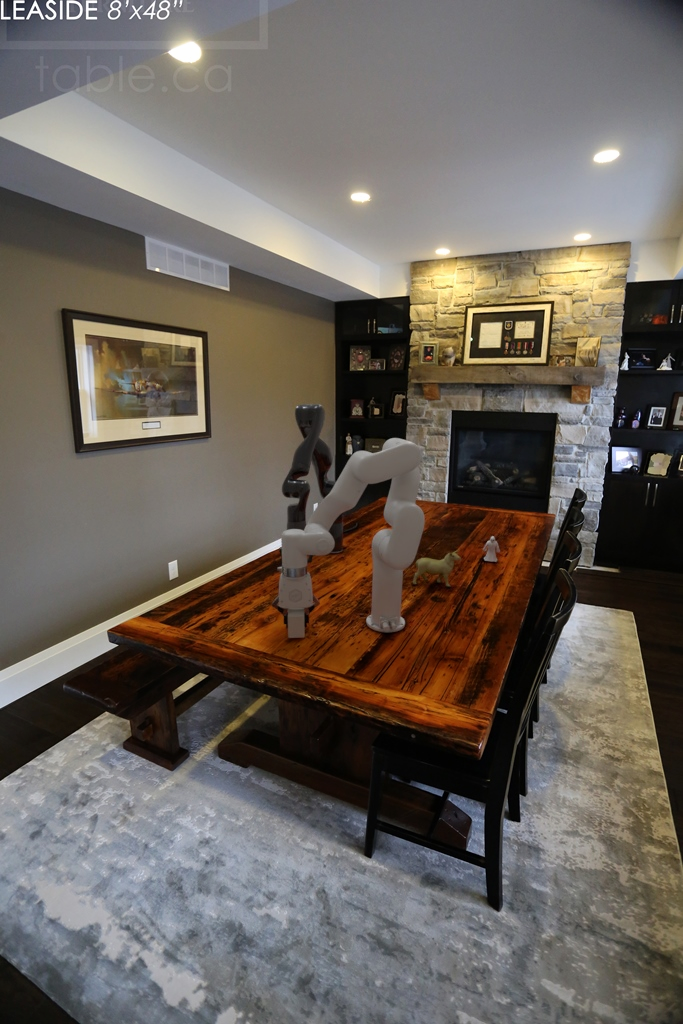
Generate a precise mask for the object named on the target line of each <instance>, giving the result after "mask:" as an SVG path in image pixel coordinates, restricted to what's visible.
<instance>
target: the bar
mask: <svg viewBox="0 0 683 1024" xmlns="http://www.w3.org/2000/svg"><path fill="white" fill-rule="evenodd" d="M304 612H305V610H304V608H290V609H288V628H287V638H288V639H298V638H299V639H300V638H301V639H302V638H306V637H305V635H306V634H305V632H306V631H305V628H306V627H305V626H304Z"/></svg>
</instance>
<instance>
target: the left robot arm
mask: <svg viewBox="0 0 683 1024" xmlns="http://www.w3.org/2000/svg"><path fill="white" fill-rule="evenodd" d="M294 418H295V422H296V426H297V428H298V430H299V432H300V434H301V437H302V438H303V440H302V441H301V442H300V444H299V445H298V446H297V448H296V449H295V451H294V453H293V457H292V461H291V465H290V469H289V471H288V473H287V475H286V477H285V478H284V480H283V482H282V485H281V493H282V495H283V497H284V498H288V499H298V502H296V503H295V502H294V503H290V504H289V505H287V507H286V530H289V529H300V530H303V531H304V529H305V526H306V524H307V518H306V517H307V515H306V513H307V512H306V511H307V504H308V499H309V497H310V493H311V486H310V485H311V484H310V483H309V482H308V480H305V479H299V478H304V477H307V476H308V475H309V474H310V469H311V465H312V468H313V470H314V471H313V472H314V473H315V477H316V481H317V487H318V490H319V491H318V492H319V494H320V497H321V498H322V500H324V498H325V497H326V496H327V495H328V494H329V493H330V492H331V490H332V489H333V487H334V485H335V483H336V482H337V480H332V479H331V480H330V479H329V478H328V473H329V471H330V469H331V467H332V465H333V462H334V461H333V454H332V452H331V448H330V446H329V444H328V443H327V442H326V441H325V440H324V439H323V438H322V437H321V433H322V430H323V427H324V424H325V420H326V411H325V408H324V406H323V405H322V404H319V403H301V404H298V405H297V406H296V407H295V409H294ZM344 513H345V512H343V513H342V514H340V515H339V516H338V517H337V518H336V520H335V521H334V523H333V524H332V526H331V528H330V529H329V531H328V532H329V533H330V534H331V535H332V537H333V539H334V543H335V545H334V548H333V550H332V551H331V552H330V553H329V554H341V553H342V552H343V551H344V533H348V532H350V531H352V530H354V529H356V528H357V527H358V522H356V523H355V525H354V526H353V527H350V528H349V529H344ZM278 550H279V554H280V555H279V556H280V559H282V546H280V547H279V549H278ZM313 559H314V555H308V558H307V565H308V564H310V563H312V562H313Z"/></svg>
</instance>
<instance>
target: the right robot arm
mask: <svg viewBox="0 0 683 1024" xmlns="http://www.w3.org/2000/svg"><path fill="white" fill-rule="evenodd" d="M422 460H423V453H422V449H421V448H420V446H419V445H417V444H416V443H414V442H413V441H410V440H407V439H403V438H399V437H392V438H389V439H387V440H386V441H384V443H383V445H382V449H381V450H380V451H377V452H373V453H372V452H370V451H367V450H357V451H355V452H354V453H352V455H351V456H349V459H348V460H347V462H346V464H345V466H344V467H343V469H342V471H341V473H340V474H339V477H338V478H337V480H336V481H337V482H336V483H335V485H334V487H333V489H332V490H331V492H330V493H329V494H328V495H327V496H326V497H325V498H324V499H322V501H321V502H320V503H319V504H318V505H317V506H316V508H314V510H313V512H312V514H311V515H310V517H309V519H308V521H307V522H306V526H305V529H304V531H303V530H300V529H289V530H287V529H286V530H284V531H283V532H282V533H281V535H280V536H281V537H280V539H281V547H282V558H281V566H277V572H278V573H280V575H279V579H278V595H277V596H276V597H275V599H273V601H272V602H271V607H272V608H274V609H275V610H277V611H278V612H279V613H280V614H281V615H282V616H283V625H285V629H288V609H290V608H304V626H305V628H308V624H310V614H311V613H312V612H313V611H314V610H315V609H316V608H318V607H319V606H320V605H321V601H320V599H318V598H317V596H316V595H315V594H314V593H313V583H312V577H311V574H310V572H308V571H309V570H308V564H307V559H308V556H309V555H313V556H318V557H320V556H328V555H329V554H331V553H330V552H331V551H332V550H333V548H334V545H335V543H334V539H333V537H332V535H331V534H330V533H329V532H328V531H329V529H330V528H331V526H332V524H333V523H334V521H335V520H336V518H337V517H338V516H339V515H340V514H342V513H343V512H344V513H345V512H347V511H351V509H353V508H355V507H356V505H357V504H358V502H359V501H360V499H361V497H362V495H363V494H364V492H365V490H366V488H367V487H368V485H374V484H379V483H382V482H385V481H388V480H391V483H390V488H389V491H388V495H387V498H386V502H385V506H384V509H383V518H384V520H385V522H386V523H387V524H388V525H389V526H390V527H391V528H383V529H381V530H379V531H377V532H376V533H375V534H374V536H373V538H372V541H371V558H372V585H371V586H372V587H371V607H370V609H371V613H370V615H368V616H367V617H366V621H365V622H366V623H365V624H366V625H367V627H368V628H369V629H372V630H373V631H376V632H379V633H396V632H398V631H402V630H403V629H404V628H405V626H406V620H405V618H403V617H402V615H401V614H402V599H403V598H402V597H403V580H404V570H406V569H407V568H409V567H410V566H411V565H412V564H413V563H414V561H415V559H416V556H417V554H418V549H419V546H420V543H421V539H422V536H423V532H424V528H425V523H426V519H425V517H426V516H425V513H424V511H423V510H422V508H421V507H420V506H419V505H418V504H416V503H417V502H416V501H417V499H418V493H419V489H420V485H421V471H420V468H419V466H420V464H421V462H422ZM344 513H343V514H344Z"/></svg>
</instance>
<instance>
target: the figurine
mask: <svg viewBox="0 0 683 1024" xmlns="http://www.w3.org/2000/svg"><path fill="white" fill-rule="evenodd" d="M482 551H483V552H486V554H485V556H484V557H483V560H484V561H485V562H495V563H498V558H497V554H496V553H498V554H499V553H501V550H500V547H499V543H498V541H497V540H496V538H495V536H493V535H492V536H490V539H489V540H487V542H486V543H485V544H484V546H483V548H482Z"/></svg>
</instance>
